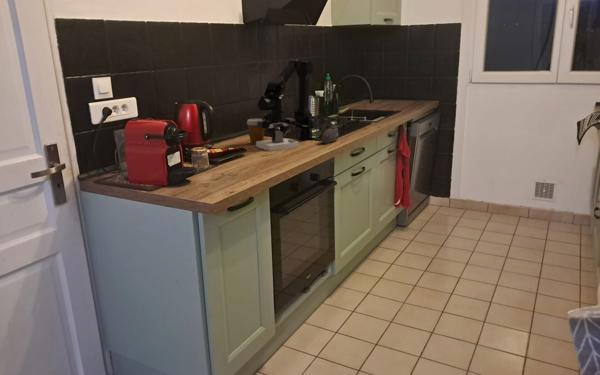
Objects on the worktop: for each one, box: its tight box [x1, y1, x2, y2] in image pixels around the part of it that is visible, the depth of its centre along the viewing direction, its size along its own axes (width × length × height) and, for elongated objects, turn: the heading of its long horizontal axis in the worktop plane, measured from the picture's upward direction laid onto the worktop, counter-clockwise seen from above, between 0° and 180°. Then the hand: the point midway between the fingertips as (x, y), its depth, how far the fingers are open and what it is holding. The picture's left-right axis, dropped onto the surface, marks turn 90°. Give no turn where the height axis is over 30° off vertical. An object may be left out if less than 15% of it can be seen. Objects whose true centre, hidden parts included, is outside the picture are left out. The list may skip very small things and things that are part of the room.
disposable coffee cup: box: [246, 118, 265, 146], centre depth 247 cm, size 10×10×12 cm
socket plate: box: [255, 137, 300, 152], centre depth 239 cm, size 16×14×3 cm
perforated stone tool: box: [320, 126, 340, 144], centre depth 248 cm, size 15×5×7 cm, turn 146°
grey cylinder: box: [272, 130, 284, 143], centre depth 238 cm, size 4×4×6 cm
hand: (277, 140), depth 239 cm, fingers closed on grey cylinder, 4 cm apart
